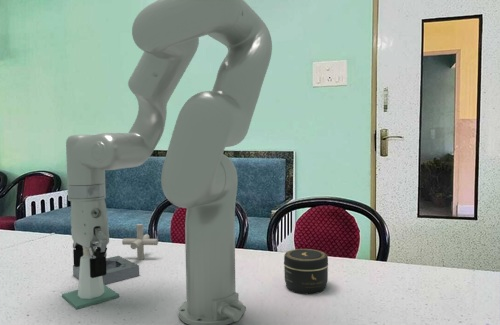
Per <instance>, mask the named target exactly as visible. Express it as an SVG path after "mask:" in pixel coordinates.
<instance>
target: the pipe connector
mask: <svg viewBox="0 0 500 325" xmlns="http://www.w3.org/2000/svg"><path fill="white" fill-rule="evenodd" d="M121 241H122V242H121V244H122V245H124V246H127V245H128V246H130V249H132V250H136V253H137V254H136V256H137V260H138V261H139V260H140V261H142V260H144V259H145V254H144V253H145V250H144V249H145V248H144V246H158V244H159V239H158V238H151V237H150V235H149V234H147V233H146V234H144V224H143V223H137V224H136V238H122V240H121Z"/></svg>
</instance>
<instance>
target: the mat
mask: <svg viewBox="0 0 500 325" xmlns="http://www.w3.org/2000/svg"><path fill="white" fill-rule="evenodd" d="M103 285H104V284H103ZM61 298H63V299H64V300H65V301H66V302H68V304H70V305H71V306H72V307H73V308H74V309H76V310H79V309H83V308H87V307H89V306H92V305H96V304H101V303H103V302H107V301H110V300H114V299H116V298H120V293H118V292H116V291H115V290H114V289H112V288H111V287H109V286H108V285H107V284H106V285H104V293H103V294H102V295H101V296H100V297H96V298H92V299H81V298H80V297H79V296H78V289H77V290H73V291H68V292H64V293H61Z"/></svg>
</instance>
